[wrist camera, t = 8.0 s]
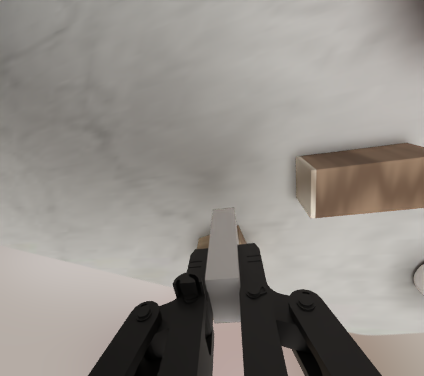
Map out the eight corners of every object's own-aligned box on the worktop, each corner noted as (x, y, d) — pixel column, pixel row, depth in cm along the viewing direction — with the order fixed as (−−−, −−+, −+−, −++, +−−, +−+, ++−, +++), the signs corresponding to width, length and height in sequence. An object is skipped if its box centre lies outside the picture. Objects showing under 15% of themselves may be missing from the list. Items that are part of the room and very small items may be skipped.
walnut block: (311, 170, 18) (449, 154, 17) (295, 156, 22) (406, 142, 21) (310, 218, 20) (437, 206, 19) (296, 197, 24) (399, 186, 23)
